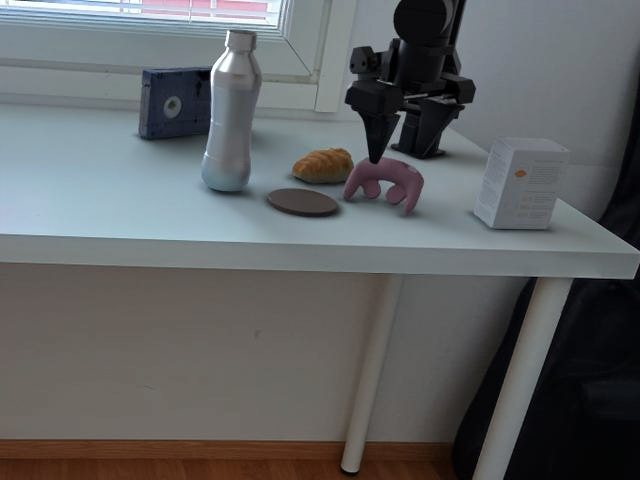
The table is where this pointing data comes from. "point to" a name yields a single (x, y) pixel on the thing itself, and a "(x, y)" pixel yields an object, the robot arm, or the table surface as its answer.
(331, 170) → the pastry
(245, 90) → the plastic bottle
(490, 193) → the small box
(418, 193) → the video game controller
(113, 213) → the table surface
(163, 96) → the vhs cassette tape
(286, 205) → the walnut coaster
